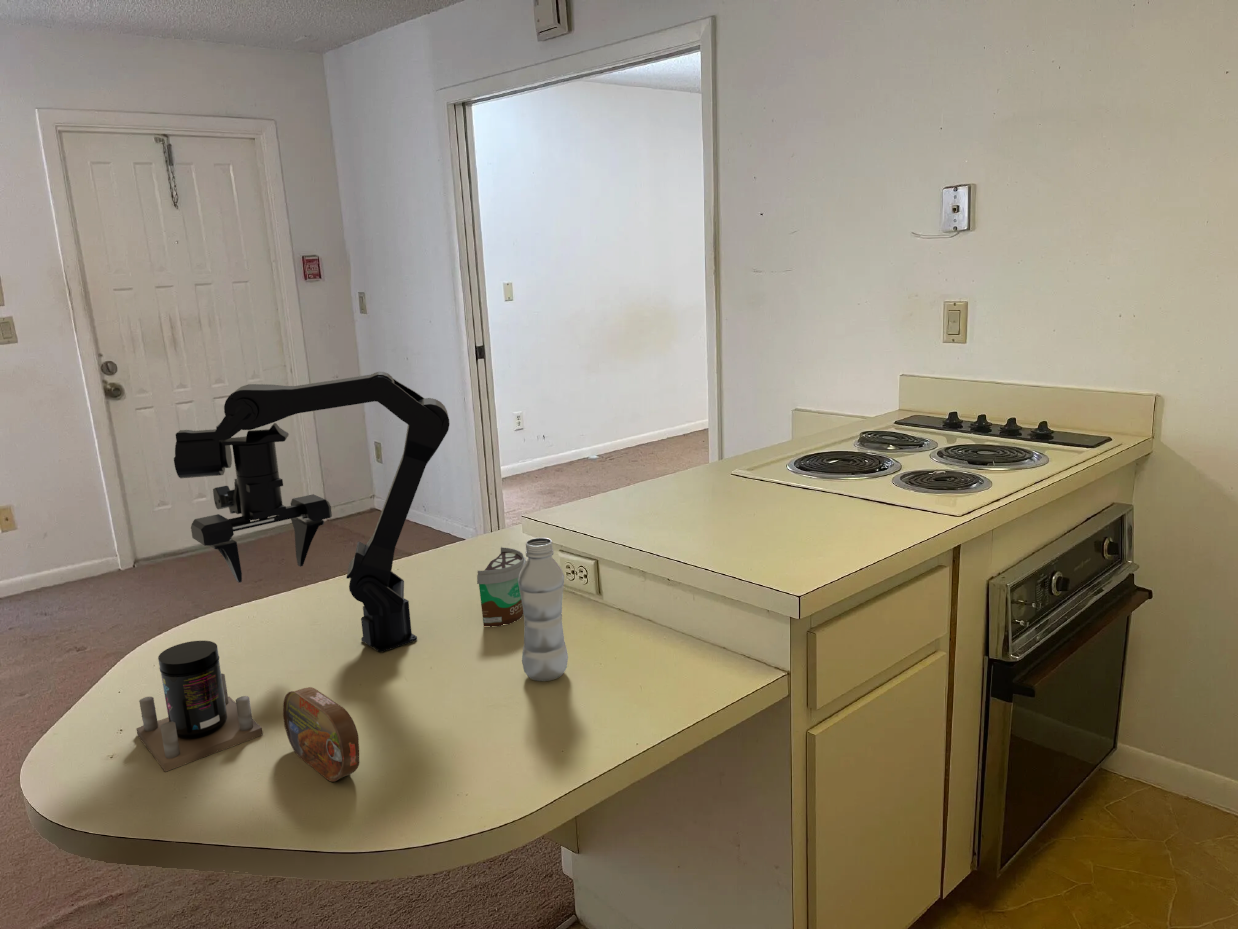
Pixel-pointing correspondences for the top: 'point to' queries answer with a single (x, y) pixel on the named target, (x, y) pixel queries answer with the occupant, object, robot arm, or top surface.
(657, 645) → the top surface
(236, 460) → the robot arm
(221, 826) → the top surface
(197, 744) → the cradle
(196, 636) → the top surface
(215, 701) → the supplement container
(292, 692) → the tin
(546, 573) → the plastic bottle
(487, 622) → the food container
